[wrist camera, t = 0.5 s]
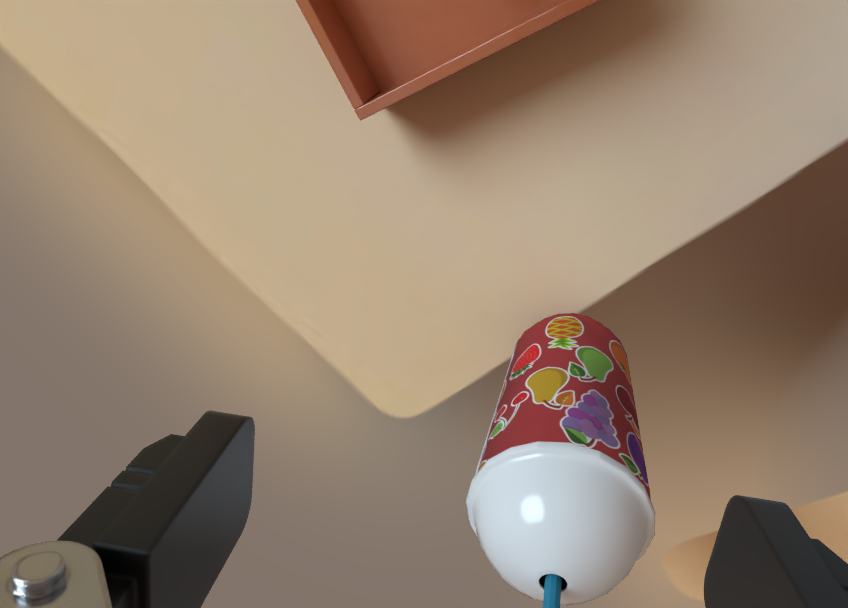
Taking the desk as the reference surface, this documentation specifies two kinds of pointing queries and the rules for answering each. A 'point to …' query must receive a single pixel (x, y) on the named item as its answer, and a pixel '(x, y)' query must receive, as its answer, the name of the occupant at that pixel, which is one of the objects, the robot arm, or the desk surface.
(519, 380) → the smoothie
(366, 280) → the desk surface
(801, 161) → the desk surface
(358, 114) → the dish
